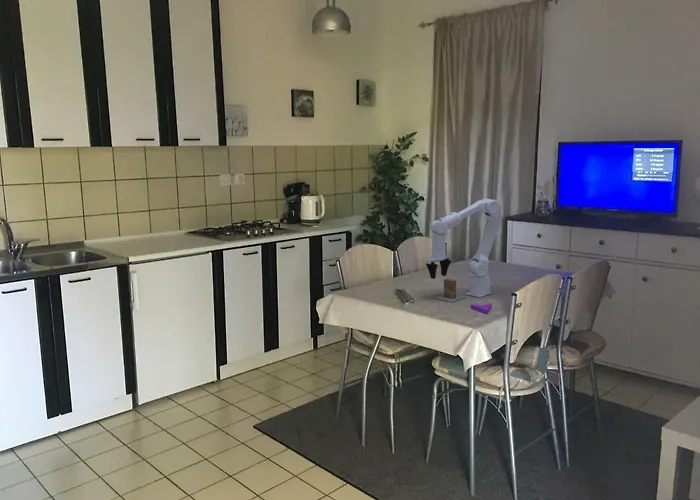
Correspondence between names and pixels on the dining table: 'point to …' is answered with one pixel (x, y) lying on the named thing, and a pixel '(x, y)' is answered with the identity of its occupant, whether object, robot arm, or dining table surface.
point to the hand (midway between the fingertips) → (438, 277)
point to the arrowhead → (482, 308)
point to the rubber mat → (449, 298)
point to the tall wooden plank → (450, 288)
